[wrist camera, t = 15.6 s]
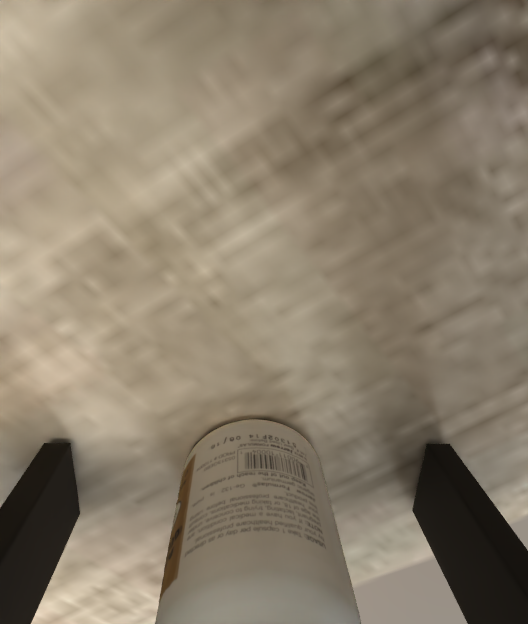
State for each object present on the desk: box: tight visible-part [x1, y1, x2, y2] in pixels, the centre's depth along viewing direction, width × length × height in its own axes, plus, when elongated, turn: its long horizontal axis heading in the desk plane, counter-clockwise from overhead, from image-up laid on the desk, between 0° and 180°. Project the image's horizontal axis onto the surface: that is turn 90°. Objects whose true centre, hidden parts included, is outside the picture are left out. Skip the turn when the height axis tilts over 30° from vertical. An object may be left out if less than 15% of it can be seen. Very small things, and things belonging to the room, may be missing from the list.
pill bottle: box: [155, 419, 361, 624], centre depth 10 cm, size 4×4×8 cm
